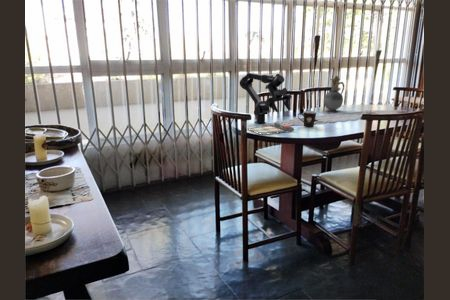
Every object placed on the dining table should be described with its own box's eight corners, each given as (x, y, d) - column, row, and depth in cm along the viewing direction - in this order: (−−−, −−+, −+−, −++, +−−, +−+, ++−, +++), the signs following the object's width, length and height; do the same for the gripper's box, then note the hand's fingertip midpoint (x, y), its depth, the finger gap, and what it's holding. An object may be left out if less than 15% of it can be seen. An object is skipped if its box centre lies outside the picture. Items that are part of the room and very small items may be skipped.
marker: (274, 126, 225) (274, 122, 224) (277, 125, 226) (277, 122, 225) (282, 128, 217) (282, 125, 217) (284, 128, 218) (285, 125, 218)
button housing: (279, 129, 214) (280, 126, 214) (287, 128, 217) (287, 125, 217) (285, 132, 209) (285, 129, 208) (293, 130, 212) (293, 128, 211)
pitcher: (320, 110, 281) (324, 75, 272) (336, 109, 290) (340, 74, 281) (330, 113, 272) (334, 76, 263) (346, 111, 281) (350, 75, 272)
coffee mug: (317, 126, 225) (318, 112, 222) (311, 128, 219) (312, 113, 216) (302, 123, 233) (303, 109, 230) (296, 125, 226) (297, 111, 223)
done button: (281, 128, 214) (282, 125, 213) (287, 127, 216) (287, 124, 215) (286, 129, 210) (286, 126, 209) (291, 129, 212) (292, 126, 211)
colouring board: (247, 129, 214) (247, 127, 214) (270, 127, 222) (270, 125, 221) (260, 135, 201) (260, 133, 200) (284, 132, 208) (284, 130, 208)
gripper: (267, 86, 206) (277, 107, 202) (290, 82, 214) (300, 102, 210) (260, 95, 216) (269, 115, 212) (282, 91, 224) (292, 110, 220)
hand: (283, 110), depth 213 cm, fingers open, 9 cm apart
